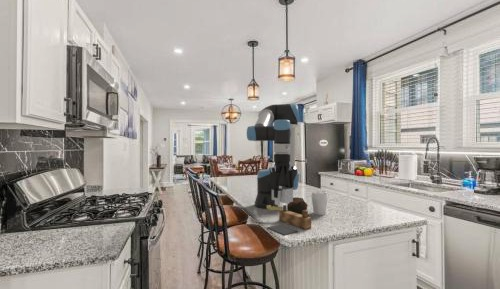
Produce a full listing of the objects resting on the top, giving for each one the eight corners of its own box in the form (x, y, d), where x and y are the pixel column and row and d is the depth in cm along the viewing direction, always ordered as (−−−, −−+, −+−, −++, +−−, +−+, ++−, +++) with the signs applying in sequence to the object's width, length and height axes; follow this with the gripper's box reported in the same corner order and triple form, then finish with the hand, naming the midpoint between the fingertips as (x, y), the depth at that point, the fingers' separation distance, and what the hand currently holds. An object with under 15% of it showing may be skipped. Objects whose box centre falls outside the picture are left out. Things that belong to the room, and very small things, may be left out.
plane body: (279, 220, 136) (279, 205, 136) (284, 219, 138) (284, 203, 138) (305, 229, 121) (305, 212, 121) (311, 228, 124) (311, 211, 124)
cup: (326, 211, 154) (326, 191, 154) (329, 215, 145) (329, 193, 145) (310, 211, 155) (310, 190, 155) (312, 215, 146) (312, 193, 146)
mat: (267, 228, 124) (267, 227, 124) (279, 225, 128) (279, 224, 128) (284, 235, 114) (284, 234, 114) (297, 231, 118) (297, 230, 118)
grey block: (271, 199, 123) (271, 185, 123) (279, 198, 126) (279, 184, 126) (284, 203, 116) (284, 188, 116) (293, 201, 119) (293, 187, 119)
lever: (267, 208, 139) (267, 204, 139) (282, 209, 137) (282, 205, 137) (266, 209, 137) (266, 205, 137) (282, 210, 135) (282, 206, 135)
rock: (284, 212, 151) (284, 195, 151) (303, 212, 152) (303, 195, 152) (290, 219, 138) (290, 200, 138) (310, 219, 138) (310, 200, 138)
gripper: (272, 154, 113) (272, 208, 113) (301, 153, 123) (301, 202, 123) (261, 153, 119) (261, 205, 119) (290, 152, 129) (290, 200, 129)
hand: (282, 203), depth 121 cm, fingers closed on grey block, 5 cm apart
